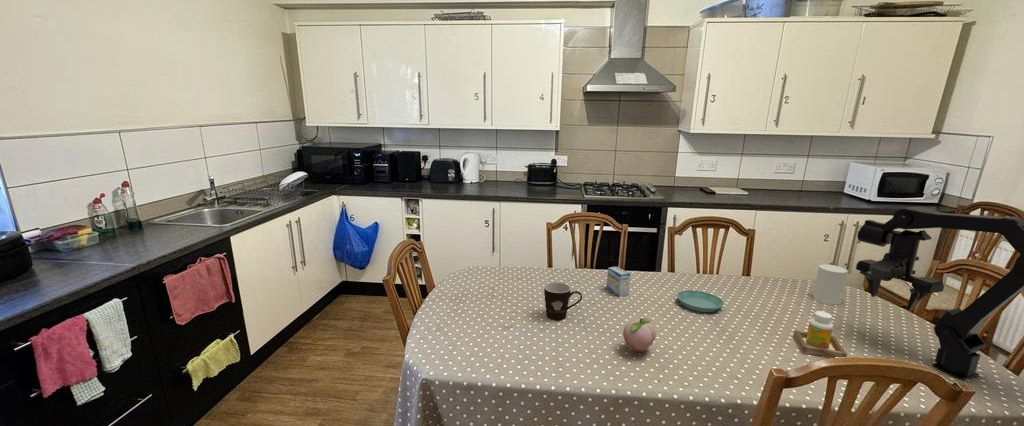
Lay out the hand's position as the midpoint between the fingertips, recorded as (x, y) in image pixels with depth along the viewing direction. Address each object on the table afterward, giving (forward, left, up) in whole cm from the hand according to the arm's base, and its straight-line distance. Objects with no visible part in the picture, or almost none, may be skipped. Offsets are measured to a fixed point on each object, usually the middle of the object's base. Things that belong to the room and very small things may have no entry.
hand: (890, 303), depth 122 cm
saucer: (+34, +36, -12) cm, 51 cm away
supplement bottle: (+2, +22, -12) cm, 25 cm away
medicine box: (+51, +58, -12) cm, 78 cm away
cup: (+26, -12, -12) cm, 31 cm away
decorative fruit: (+14, +73, -12) cm, 75 cm away
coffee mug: (+38, +86, -12) cm, 95 cm away
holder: (+2, +22, -12) cm, 25 cm away
